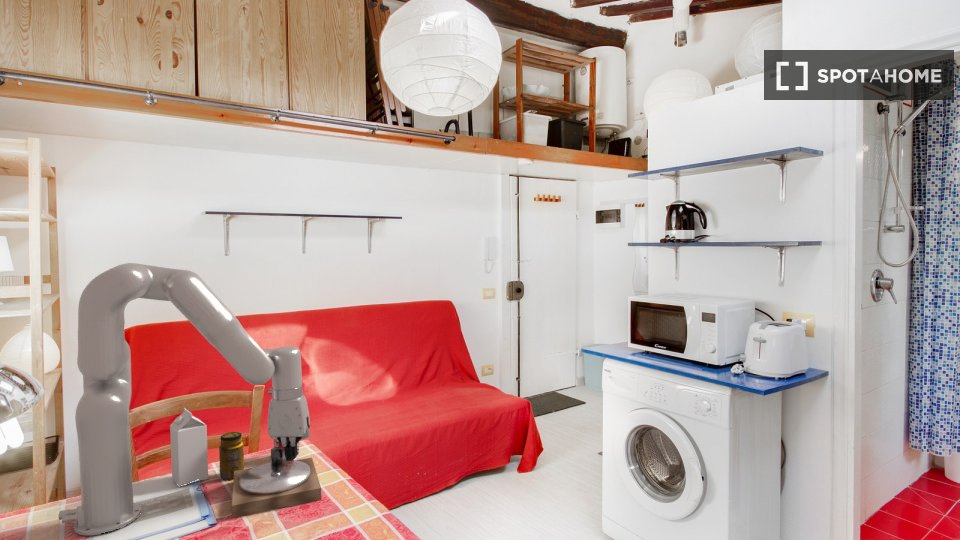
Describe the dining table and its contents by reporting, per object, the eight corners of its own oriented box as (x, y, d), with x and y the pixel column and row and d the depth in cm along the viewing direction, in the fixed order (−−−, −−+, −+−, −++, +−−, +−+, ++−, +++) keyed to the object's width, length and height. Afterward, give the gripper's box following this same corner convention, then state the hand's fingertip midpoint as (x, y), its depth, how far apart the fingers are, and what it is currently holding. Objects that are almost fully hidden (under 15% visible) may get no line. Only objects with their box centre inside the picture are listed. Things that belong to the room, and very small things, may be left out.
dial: (310, 488, 126) (310, 467, 125) (235, 500, 120) (234, 478, 120) (310, 460, 142) (309, 442, 141) (243, 470, 136) (243, 451, 136)
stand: (232, 518, 118) (231, 502, 118) (234, 481, 136) (233, 468, 136) (321, 499, 126) (321, 484, 126) (312, 467, 144) (311, 454, 144)
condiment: (248, 470, 144) (247, 429, 143) (241, 484, 136) (240, 440, 135) (220, 473, 142) (219, 431, 142) (212, 487, 134) (210, 442, 133)
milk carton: (200, 471, 143) (198, 404, 142) (208, 479, 138) (206, 410, 137) (171, 479, 138) (169, 410, 137) (179, 488, 133) (176, 417, 132)
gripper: (254, 397, 133) (258, 465, 134) (309, 397, 132) (313, 465, 134) (267, 389, 141) (271, 453, 142) (320, 388, 140) (323, 453, 141)
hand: (291, 458), depth 138 cm, fingers closed
